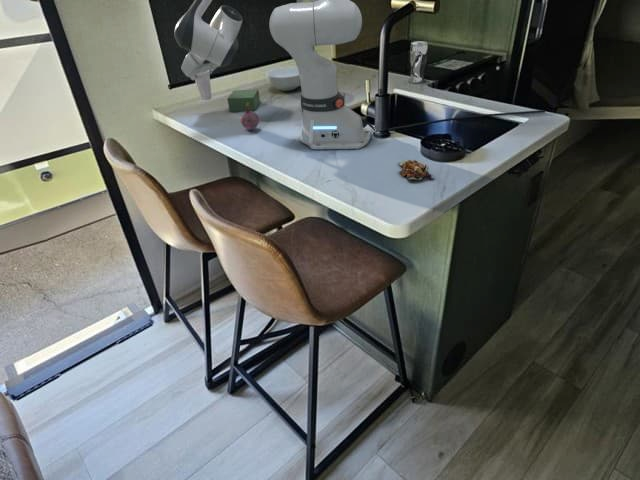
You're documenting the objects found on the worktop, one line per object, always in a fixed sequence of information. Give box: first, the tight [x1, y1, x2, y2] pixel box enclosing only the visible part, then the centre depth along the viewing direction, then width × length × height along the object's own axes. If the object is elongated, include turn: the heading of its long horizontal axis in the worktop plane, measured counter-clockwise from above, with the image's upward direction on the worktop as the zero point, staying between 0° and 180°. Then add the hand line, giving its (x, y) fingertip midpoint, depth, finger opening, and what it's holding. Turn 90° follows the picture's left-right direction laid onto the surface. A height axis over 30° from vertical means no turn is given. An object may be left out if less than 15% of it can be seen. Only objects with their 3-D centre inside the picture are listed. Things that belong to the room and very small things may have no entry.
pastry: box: [399, 158, 434, 181], centre depth 117 cm, size 7×12×4 cm, turn 16°
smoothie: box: [194, 70, 212, 101], centre depth 157 cm, size 6×6×14 cm
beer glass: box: [408, 40, 429, 84], centre depth 178 cm, size 7×7×15 cm
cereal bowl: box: [265, 66, 301, 92], centre depth 184 cm, size 17×17×7 cm
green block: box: [227, 88, 261, 112], centre depth 168 cm, size 10×10×5 cm
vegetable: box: [240, 103, 260, 132], centre depth 146 cm, size 6×6×10 cm
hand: (200, 75), depth 156 cm, fingers closed on smoothie, 6 cm apart
